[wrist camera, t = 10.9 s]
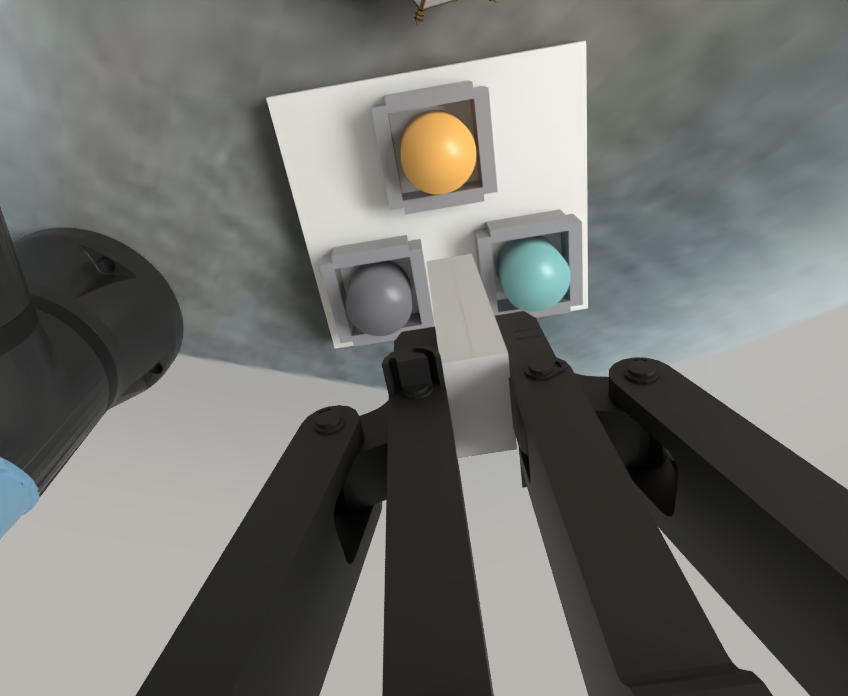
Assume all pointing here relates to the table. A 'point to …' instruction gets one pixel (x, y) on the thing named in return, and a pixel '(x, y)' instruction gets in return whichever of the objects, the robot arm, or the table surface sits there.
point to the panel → (452, 212)
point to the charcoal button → (379, 298)
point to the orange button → (437, 152)
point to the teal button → (532, 273)
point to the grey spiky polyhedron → (429, 6)
